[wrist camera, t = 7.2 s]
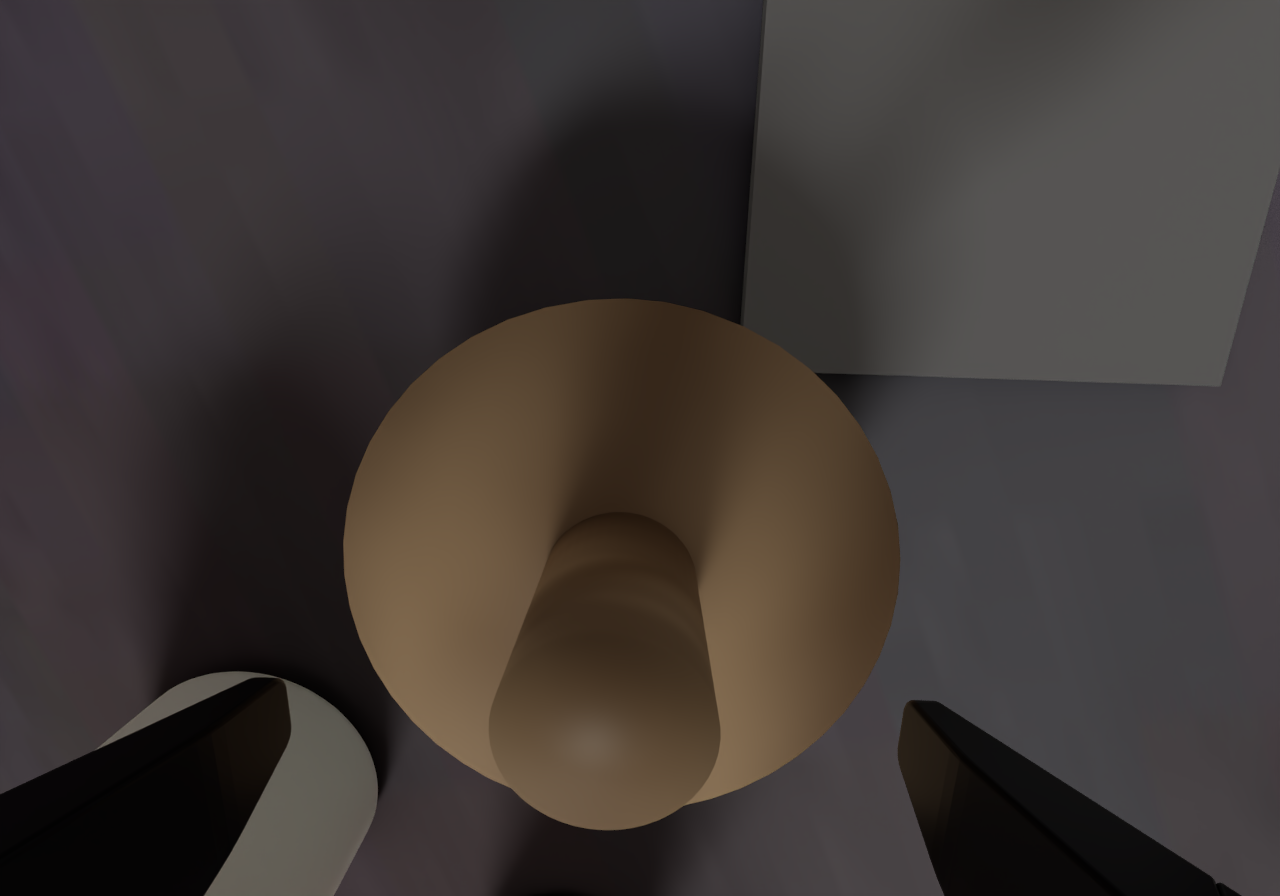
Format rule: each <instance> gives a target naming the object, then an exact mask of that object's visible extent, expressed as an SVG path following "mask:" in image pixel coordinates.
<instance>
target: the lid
mask: <svg viewBox="0 0 1280 896" xmlns="http://www.w3.org/2000/svg"><path fill="white" fill-rule="evenodd" d="M343 548H344V576H345V582H346V588H347V593H348V599H349V605H350V609H351V612H352V616H353V619H354V622H355V625H356V628H357V631H358V634H359V638H360V640H361V642H362V644H363V646H364V649H365V651H366V653H367V655H368V657H369V659H370V661H371V663H372V666H373V668H374V669H375V671H376V673H377V674H378V676H379V677H380V679H381V680H382V682H383V683H384V685H385V687H386V688H387V690H388V691H389V693H390V694H391V696H392V697H393V698H394V700H395V701H396V702H397V703H398V704H399V706H400V707H401V708H402V709H403V710H404V712H405V713H406V714H407V715H408V716H409V718H410V719H411V720H412V721H413V722H414V723H415V724H416V725H417V726H418V727H419V728H420V729H421V730H422V731H423V732H425V733H426V734H427V735H428V736H429V737H430V738H431V739H432V740H433V741H434V742H435V743H436V744H438V745H439V746H440V747H442V748H443V749H444V750H446V751H447V752H448V753H450V754H451V755H452V756H454V757H455V758H456V759H458V760H459V761H461V762H462V763H464V764H465V765H467V766H469V767H470V768H472V769H474V770H476V771H477V772H479V773H481V774H483V775H484V776H486V777H488V778H489V779H491V780H494V781H496V782H498V783H501V784H503V785H505V786H507V787H510V788H512V789H513V790H514V792H516V793H517V794H518V795H519V796H520V797H521V798H522V799H523V800H524V801H525V802H527V803H528V804H529V805H531V806H532V807H533V808H535V809H536V810H538V811H540V812H541V813H543V814H545V815H546V816H548V817H551V818H553V819H555V820H558V821H560V822H563V823H566V824H569V825H572V826H576V827H581V828H587V829H595V830H621V829H629V828H634V827H639V826H643V825H647V824H649V823H652V822H655V821H658V820H660V819H662V818H664V817H666V816H668V815H670V814H672V813H673V812H675V811H676V810H678V809H679V808H681V807H683V806H684V805H688V804H692V803H696V802H700V801H704V800H708V799H712V798H715V797H718V796H721V795H723V794H726V793H729V792H732V791H734V790H737V789H740V788H743V787H745V786H747V785H749V784H751V783H753V782H755V781H757V780H759V779H761V778H763V777H765V776H767V775H769V774H771V773H772V772H774V771H775V770H777V769H779V768H780V767H782V766H783V765H785V764H786V763H788V762H789V761H791V760H792V759H794V758H795V757H797V756H798V755H800V754H801V753H802V752H803V751H804V750H806V749H807V748H808V747H809V746H810V745H812V744H813V743H814V742H815V741H816V740H818V739H819V738H820V737H821V736H822V735H823V734H824V733H825V732H826V731H827V730H828V729H829V728H830V727H831V726H832V725H833V724H834V723H835V722H836V721H837V719H838V718H839V717H840V716H841V715H842V714H843V713H844V712H845V711H846V709H847V708H848V707H849V705H850V704H851V702H852V701H853V700H854V698H855V697H856V695H857V694H858V693H859V691H860V690H861V688H862V687H863V686H864V684H865V682H866V680H867V678H868V677H869V675H870V673H871V671H872V669H873V667H874V665H875V663H876V662H877V660H878V658H879V656H880V653H881V650H882V648H883V645H884V642H885V640H886V637H887V634H888V631H889V629H890V626H891V622H892V617H893V613H894V608H895V604H896V599H897V595H898V584H899V571H900V548H899V534H898V523H897V519H896V514H895V510H894V505H893V501H892V496H891V491H890V489H889V486H888V483H887V481H886V478H885V475H884V473H883V470H882V468H881V465H880V462H879V460H878V457H877V455H876V454H875V452H874V450H873V448H872V446H871V445H870V443H869V441H868V439H867V437H866V436H865V434H864V432H863V430H862V428H861V427H860V425H859V424H858V422H857V421H856V420H855V418H854V417H853V416H852V414H851V413H850V412H849V411H848V409H847V408H846V407H845V405H844V404H843V403H842V401H841V400H840V399H839V397H838V396H837V395H836V394H835V393H834V392H833V391H832V390H831V389H830V388H829V387H828V386H827V385H826V384H825V383H824V382H823V381H822V380H821V379H820V378H819V377H818V376H817V375H816V374H815V373H814V372H813V371H812V370H811V369H809V368H808V367H807V366H805V365H804V364H803V363H801V362H800V361H799V360H797V359H796V358H795V357H793V356H792V355H791V354H789V353H788V352H787V351H785V350H784V349H783V348H781V347H780V346H779V345H777V344H775V343H773V342H771V341H769V340H768V339H766V338H764V337H762V336H760V335H758V334H757V333H755V332H753V331H751V330H749V329H748V328H746V327H744V326H741V325H739V324H736V323H733V322H731V321H728V320H726V319H723V318H720V317H718V316H715V315H712V314H710V313H707V312H705V311H702V310H697V309H693V308H689V307H685V306H680V305H676V304H672V303H668V302H660V301H650V300H640V299H629V298H625V299H599V300H585V301H580V302H574V303H568V304H563V305H557V306H551V307H546V308H542V309H539V310H536V311H533V312H530V313H527V314H524V315H521V316H518V317H514V318H511V319H508V320H506V321H504V322H502V323H500V324H498V325H495V326H493V327H491V328H489V329H487V330H485V331H483V332H481V333H479V334H477V335H475V336H473V337H471V338H469V339H468V340H466V341H465V342H464V343H462V344H461V345H459V346H458V347H456V348H455V349H453V350H452V351H450V352H449V353H447V354H446V355H444V356H443V357H441V358H440V359H439V360H437V361H436V362H435V363H434V364H433V365H432V366H431V367H430V368H429V369H427V370H426V371H425V372H424V373H423V374H422V375H421V376H420V377H419V378H417V379H416V380H415V381H414V382H413V383H412V384H411V385H410V386H409V388H408V389H407V390H406V391H405V392H404V394H403V395H402V396H401V397H400V398H399V400H398V401H397V402H396V403H395V404H394V406H393V407H392V408H391V409H390V410H389V412H388V413H387V415H386V416H385V418H384V420H383V421H382V423H381V425H380V426H379V428H378V429H377V431H376V433H375V434H374V436H373V438H372V439H371V441H370V443H369V445H368V447H367V450H366V452H365V454H364V457H363V459H362V461H361V464H360V466H359V468H358V471H357V473H356V476H355V480H354V484H353V487H352V491H351V495H350V499H349V503H348V506H347V513H346V522H345V531H344V540H343Z"/></svg>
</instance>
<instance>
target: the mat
mask: <svg viewBox="0 0 1280 896" xmlns="http://www.w3.org/2000/svg"><path fill="white" fill-rule="evenodd" d="M1279 169H1280V0H763V12H762V26H761V40H760V54H759V68H758V82H757V97H756V111H755V125H754V139H753V153H752V167H751V181H750V195H749V209H748V223H747V237H746V251H745V265H744V280H743V294H742V308H741V322H740V325H741V326H744V327H746V328H748V329H749V330H751V331H753V332H755V333H757V334H758V335H760V336H762V337H764V338H766V339H768V340H769V341H771V342H773V343H775V344H777V345H779V346H780V347H781V348H783V349H784V350H785V351H787V352H788V353H789V354H791V355H792V356H793V357H795V358H796V359H797V360H799V361H800V362H801V363H803V364H804V365H805V366H807V367H808V368H809V369H811V370H812V371H813V372H814V373H834V374H864V375H894V376H924V377H954V378H984V379H1014V380H1044V381H1074V382H1104V383H1134V384H1165V385H1195V386H1221V383H1222V379H1223V375H1224V372H1225V368H1226V364H1227V361H1228V357H1229V353H1230V350H1231V346H1232V342H1233V339H1234V335H1235V331H1236V327H1237V324H1238V320H1239V316H1240V313H1241V309H1242V305H1243V302H1244V298H1245V294H1246V290H1247V287H1248V283H1249V279H1250V276H1251V272H1252V268H1253V265H1254V261H1255V257H1256V254H1257V250H1258V246H1259V242H1260V239H1261V235H1262V231H1263V228H1264V224H1265V220H1266V217H1267V213H1268V209H1269V206H1270V202H1271V198H1272V194H1273V191H1274V187H1275V183H1276V180H1277V176H1278V172H1279Z"/></svg>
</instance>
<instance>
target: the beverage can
mask: <svg viewBox="0 0 1280 896" xmlns="http://www.w3.org/2000/svg"><path fill="white" fill-rule="evenodd" d="M253 677H269V678H278V677H275V676H271V675H266V674H261V673H254V672H241V671H232V672H219V673H212V674H207V675H203V676H199V677H196V678H193V679H190V680H188V681H185V682H183V683H181V684H179V685H177V686H175V687H173V688H171V689H170V690H168V691H167V692H166V693H164V694H163V695H162V696H160V697H159V698H158V699H157V700H155V701H154V702H153V703H152V704H150V705H149V706H148V707H147V708H146V709H144V710H143V711H142V712H141V713H140V714H138V715H137V716H136V717H135V718H133V719H132V720H131V721H130V722H129V723H127V724H126V725H125V726H124V727H123V728H121V729H120V730H119V731H118V732H116V733H115V734H114V735H113V736H112V737H110V738H109V739H108V740H107V741H106V742H104V743H103V744H102V745H101V746H100V747H98V748H97V749H99V748H101V747H103V746H105V745H108V744H110V743H112V742H114V741H116V740H118V739H120V738H123V737H125V736H127V735H129V734H131V733H133V732H135V731H138V730H140V729H142V728H144V727H146V726H148V725H151V724H153V723H155V722H157V721H159V720H161V719H163V718H166V717H168V716H170V715H172V714H174V713H176V712H178V711H181V710H183V709H185V708H187V707H189V706H191V705H194V704H196V703H198V702H200V701H202V700H204V699H206V698H209V697H211V696H213V695H215V694H217V693H219V692H221V691H224V690H226V689H228V688H230V687H232V686H234V685H237V684H239V683H241V682H243V681H245V680H247V679H250V678H253ZM280 679H282V678H280ZM282 680H283V681H284V683H285V684H286V688H287V695H288V702H289V710H290V718H291V736H290V739H289V742H288V745H287V747H286V749H285V751H284V753H283V755H282V757H281V759H280V761H279V762H278V764H277V766H276V768H275V770H274V772H273V774H272V776H271V778H270V780H269V782H268V784H267V786H266V788H265V789H264V791H263V793H262V795H261V797H260V799H259V801H258V803H257V805H256V807H255V809H254V811H253V813H252V815H251V816H250V818H249V820H248V822H247V824H246V826H245V828H244V830H243V832H242V834H241V836H240V837H239V839H238V841H237V843H236V845H235V846H234V848H233V850H232V852H231V853H230V855H229V857H228V858H227V860H226V862H225V863H224V865H223V867H222V868H221V870H220V872H219V873H218V875H217V876H216V878H215V879H214V881H213V883H212V884H211V886H210V887H209V889H208V890H207V892H206V894H205V895H204V896H334V894H335V892H336V890H337V888H338V886H339V885H340V883H341V881H342V879H343V877H344V875H345V873H346V871H347V869H348V867H349V866H350V864H351V862H352V860H353V858H354V856H355V854H356V852H357V850H358V848H359V846H360V845H361V843H362V841H363V839H364V837H365V835H366V833H367V831H368V829H369V827H370V825H371V823H372V820H373V818H374V814H375V811H376V806H377V798H378V783H377V775H376V770H375V766H374V763H373V760H372V757H371V755H370V752H369V750H368V748H367V746H366V744H365V742H364V741H363V739H362V737H361V736H360V734H359V733H358V731H357V730H356V729H355V727H354V726H353V725H352V724H351V723H350V722H349V720H348V719H347V718H346V717H345V716H344V715H343V714H342V713H341V712H340V711H339V710H337V709H336V708H335V707H334V706H333V705H331V704H330V703H329V702H328V701H326V700H325V699H323V698H322V697H320V696H319V695H317V694H315V693H314V692H312V691H310V690H308V689H306V688H304V687H302V686H300V685H298V684H296V683H293V682H290V681H288V680H285V679H282ZM97 749H96V750H97Z"/></svg>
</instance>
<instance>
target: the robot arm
mask: <svg viewBox="0 0 1280 896" xmlns="http://www.w3.org/2000/svg"><path fill="white" fill-rule="evenodd" d="M290 736H291V718H290V710H289V702H288V695H287V688H286V684H285V683H284V681H283V680H282V679H280V678H269V677H253V678H250V679H247V680H245V681H243V682H241V683H239V684H237V685H234V686H232V687H230V688H228V689H226V690H224V691H221V692H219V693H217V694H215V695H213V696H211V697H209V698H206V699H204V700H202V701H200V702H198V703H196V704H194V705H191V706H189V707H187V708H185V709H183V710H181V711H178V712H176V713H174V714H172V715H170V716H168V717H166V718H163V719H161V720H159V721H157V722H155V723H153V724H151V725H148V726H146V727H144V728H142V729H140V730H138V731H135V732H133V733H131V734H129V735H127V736H125V737H123V738H120V739H118V740H116V741H114V742H112V743H110V744H108V745H105V746H103V747H101V748H99V749H97V750H95V751H92V752H90V753H88V754H86V755H84V756H82V757H80V758H77V759H75V760H73V761H71V762H69V763H67V764H65V765H62V766H60V767H58V768H56V769H54V770H52V771H49V772H47V773H45V774H43V775H41V776H39V777H37V778H34V779H32V780H30V781H28V782H26V783H24V784H22V785H19V786H17V787H15V788H13V789H11V790H9V791H6V792H4V793H2V794H0V896H204V895H205V894H206V892H207V890H208V889H209V887H210V886H211V884H212V883H213V881H214V879H215V878H216V876H217V875H218V873H219V872H220V870H221V868H222V867H223V865H224V863H225V862H226V860H227V858H228V857H229V855H230V853H231V852H232V850H233V848H234V846H235V845H236V843H237V841H238V839H239V837H240V836H241V834H242V832H243V830H244V828H245V826H246V824H247V822H248V820H249V818H250V816H251V815H252V813H253V811H254V809H255V807H256V805H257V803H258V801H259V799H260V797H261V795H262V793H263V791H264V789H265V788H266V786H267V784H268V782H269V780H270V778H271V776H272V774H273V772H274V770H275V768H276V766H277V764H278V762H279V761H280V759H281V757H282V755H283V753H284V751H285V749H286V747H287V745H288V742H289V739H290ZM898 761H899V766H900V769H901V772H902V775H903V778H904V781H905V784H906V787H907V790H908V793H909V796H910V799H911V802H912V805H913V808H914V811H915V814H916V817H917V820H918V823H919V826H920V829H921V833H922V836H923V839H924V842H925V845H926V848H927V851H928V854H929V857H930V860H931V862H932V865H933V868H934V871H935V874H936V876H937V879H938V881H939V884H940V886H941V889H942V891H943V893H944V896H1241V895H1240V894H1238V893H1236V892H1235V891H1233V890H1232V889H1230V888H1229V887H1227V886H1226V885H1224V884H1222V883H1217V884H1216V883H1215V881H1214V879H1213V878H1212V877H1211V876H1210V875H1208V874H1207V873H1205V872H1203V871H1202V870H1200V869H1199V868H1197V867H1196V866H1194V865H1192V864H1191V863H1189V862H1188V861H1186V860H1185V859H1183V858H1182V857H1180V856H1178V855H1177V854H1175V853H1174V852H1172V851H1171V850H1169V849H1167V848H1166V847H1164V846H1163V845H1161V844H1160V843H1158V842H1157V841H1155V840H1153V839H1152V838H1150V837H1149V836H1147V835H1146V834H1144V833H1142V832H1141V831H1139V830H1138V829H1136V828H1135V827H1133V826H1132V825H1130V824H1128V823H1127V822H1125V821H1124V820H1122V819H1121V818H1119V817H1117V816H1116V815H1114V814H1113V813H1111V812H1110V811H1108V810H1107V809H1105V808H1103V807H1102V806H1100V805H1099V804H1097V803H1096V802H1094V801H1092V800H1091V799H1089V798H1088V797H1086V796H1085V795H1083V794H1082V793H1080V792H1078V791H1077V790H1075V789H1074V788H1072V787H1071V786H1069V785H1067V784H1066V783H1064V782H1063V781H1061V780H1060V779H1058V778H1056V777H1055V776H1053V775H1052V774H1050V773H1049V772H1047V771H1046V770H1044V769H1042V768H1041V767H1039V766H1038V765H1036V764H1035V763H1033V762H1031V761H1030V760H1028V759H1027V758H1025V757H1024V756H1022V755H1021V754H1019V753H1017V752H1016V751H1014V750H1013V749H1011V748H1010V747H1008V746H1006V745H1005V744H1003V743H1002V742H1000V741H999V740H997V739H996V738H994V737H992V736H991V735H989V734H988V733H986V732H985V731H983V730H981V729H980V728H978V727H977V726H975V725H974V724H972V723H971V722H969V721H967V720H966V719H964V718H963V717H961V716H960V715H958V714H956V713H955V712H953V711H952V710H950V709H949V708H947V707H946V706H944V705H942V704H941V703H939V702H936V701H922V700H911V701H909V702H908V703H907V704H906V705H905V708H904V712H903V718H902V725H901V731H900V737H899V743H898Z"/></svg>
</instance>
